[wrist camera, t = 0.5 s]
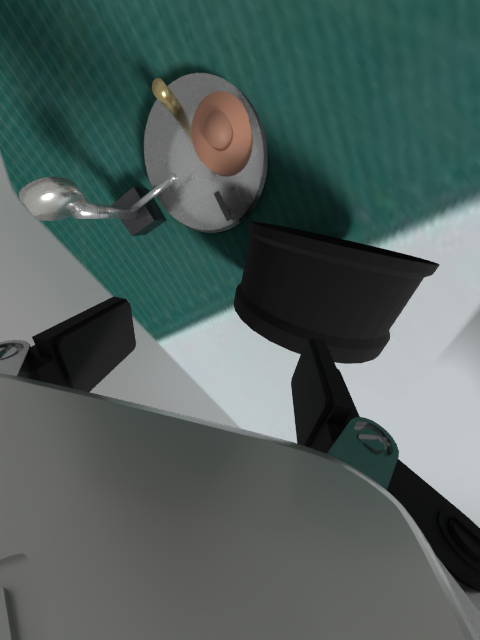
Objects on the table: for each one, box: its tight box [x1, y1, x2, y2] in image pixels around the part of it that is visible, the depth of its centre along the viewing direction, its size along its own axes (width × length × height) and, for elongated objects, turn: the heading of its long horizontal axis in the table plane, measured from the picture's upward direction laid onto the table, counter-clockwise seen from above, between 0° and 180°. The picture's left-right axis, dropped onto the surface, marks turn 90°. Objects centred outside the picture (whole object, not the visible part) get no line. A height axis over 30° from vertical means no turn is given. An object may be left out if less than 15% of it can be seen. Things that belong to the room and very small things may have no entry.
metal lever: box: [19, 173, 178, 236], centre depth 25 cm, size 12×5×18 cm, turn 118°
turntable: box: [144, 73, 264, 230], centre depth 26 cm, size 17×17×6 cm
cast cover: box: [191, 91, 253, 177], centre depth 24 cm, size 7×7×5 cm
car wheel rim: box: [234, 222, 439, 364], centre depth 25 cm, size 20×10×20 cm, turn 79°
